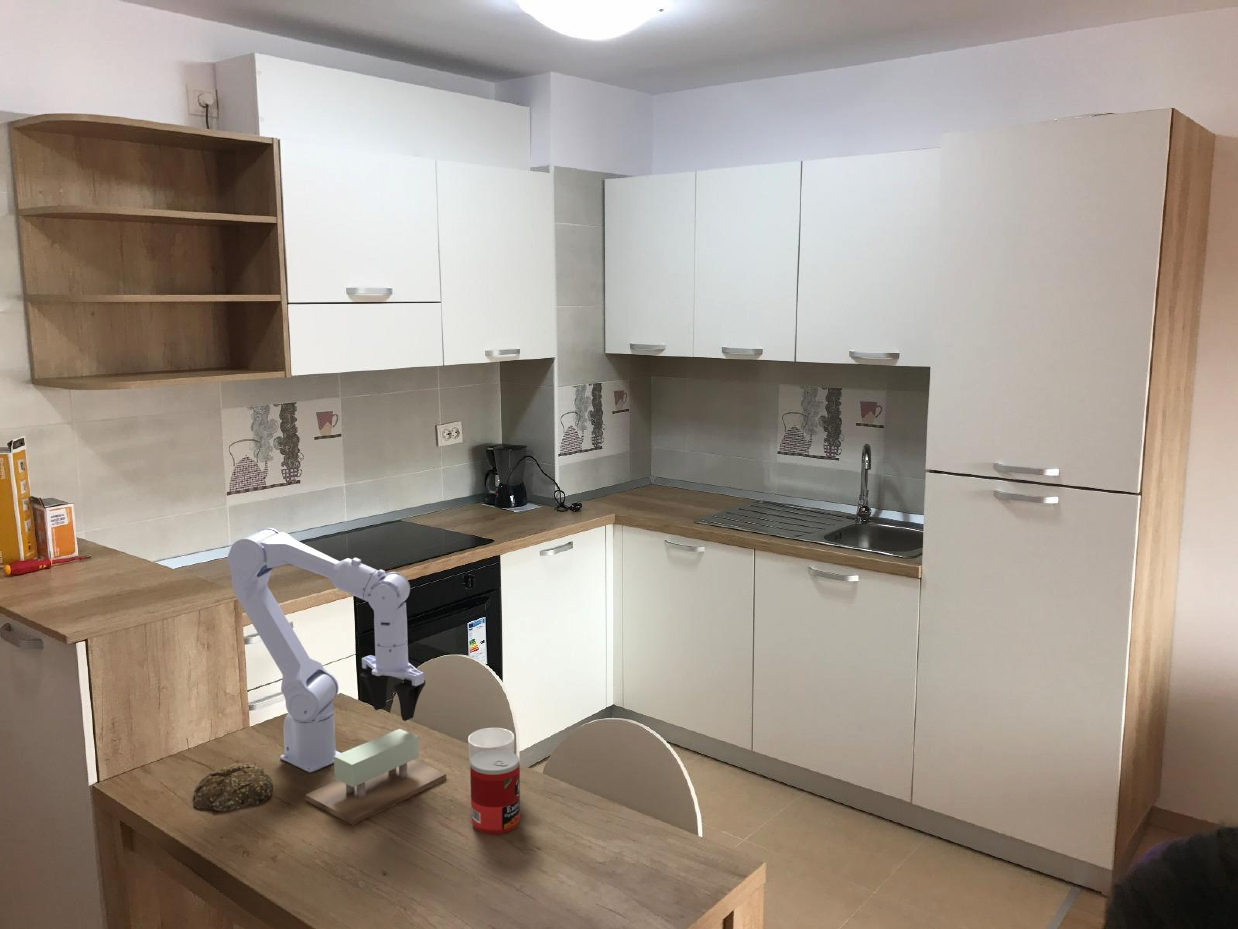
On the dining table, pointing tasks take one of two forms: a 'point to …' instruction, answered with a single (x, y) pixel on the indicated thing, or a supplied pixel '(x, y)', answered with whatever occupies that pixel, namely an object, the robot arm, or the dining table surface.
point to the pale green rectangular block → (375, 757)
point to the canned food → (495, 791)
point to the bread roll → (233, 788)
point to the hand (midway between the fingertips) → (393, 713)
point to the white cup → (490, 740)
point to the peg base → (375, 792)
